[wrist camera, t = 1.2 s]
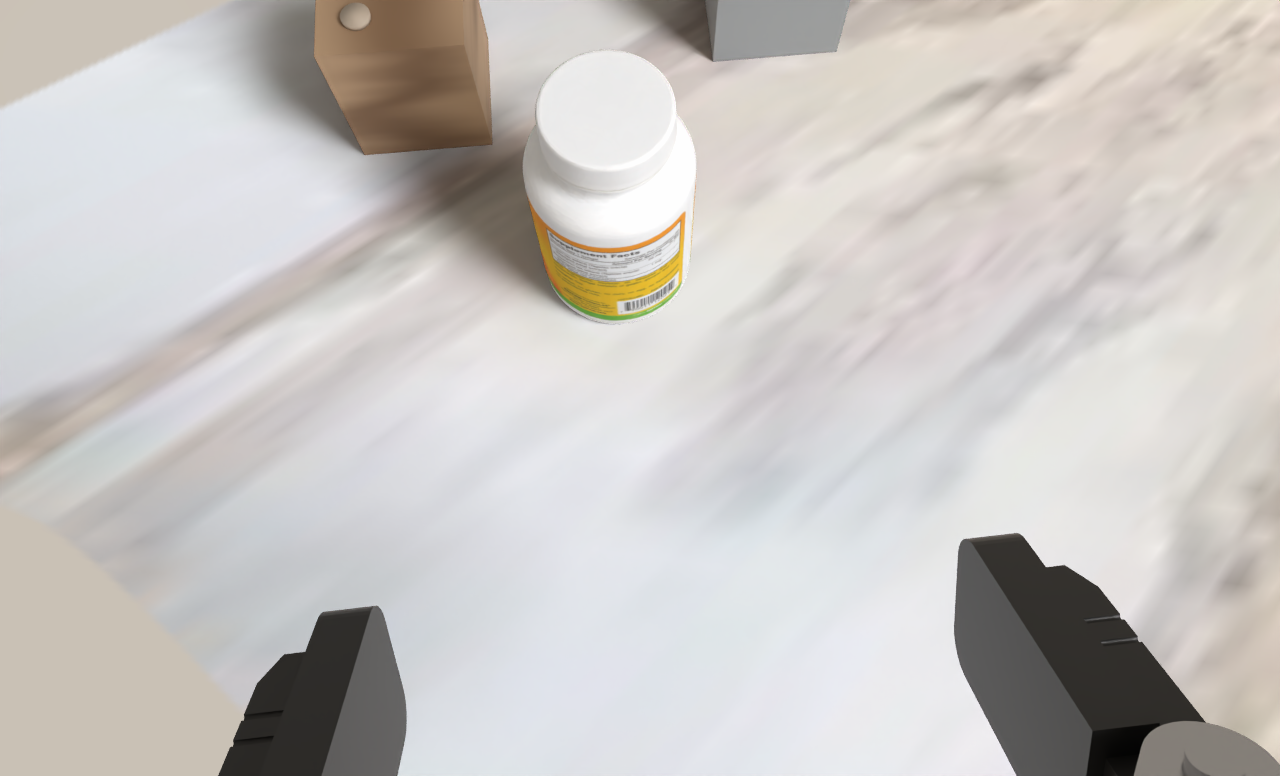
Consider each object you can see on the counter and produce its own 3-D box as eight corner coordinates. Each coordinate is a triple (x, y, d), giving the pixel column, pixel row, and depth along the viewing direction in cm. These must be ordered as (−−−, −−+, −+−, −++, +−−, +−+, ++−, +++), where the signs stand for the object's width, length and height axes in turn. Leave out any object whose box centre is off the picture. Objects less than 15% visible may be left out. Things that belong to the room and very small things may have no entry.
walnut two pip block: (364, 155, 38) (312, 52, 32) (365, 49, 40) (315, -67, 34) (492, 145, 38) (462, 40, 32) (488, 39, 40) (459, -79, 34)
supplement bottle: (578, 179, 37) (552, 4, 28) (710, 223, 37) (728, 58, 28) (523, 300, 36) (477, 156, 27) (660, 348, 35) (662, 217, 26)
